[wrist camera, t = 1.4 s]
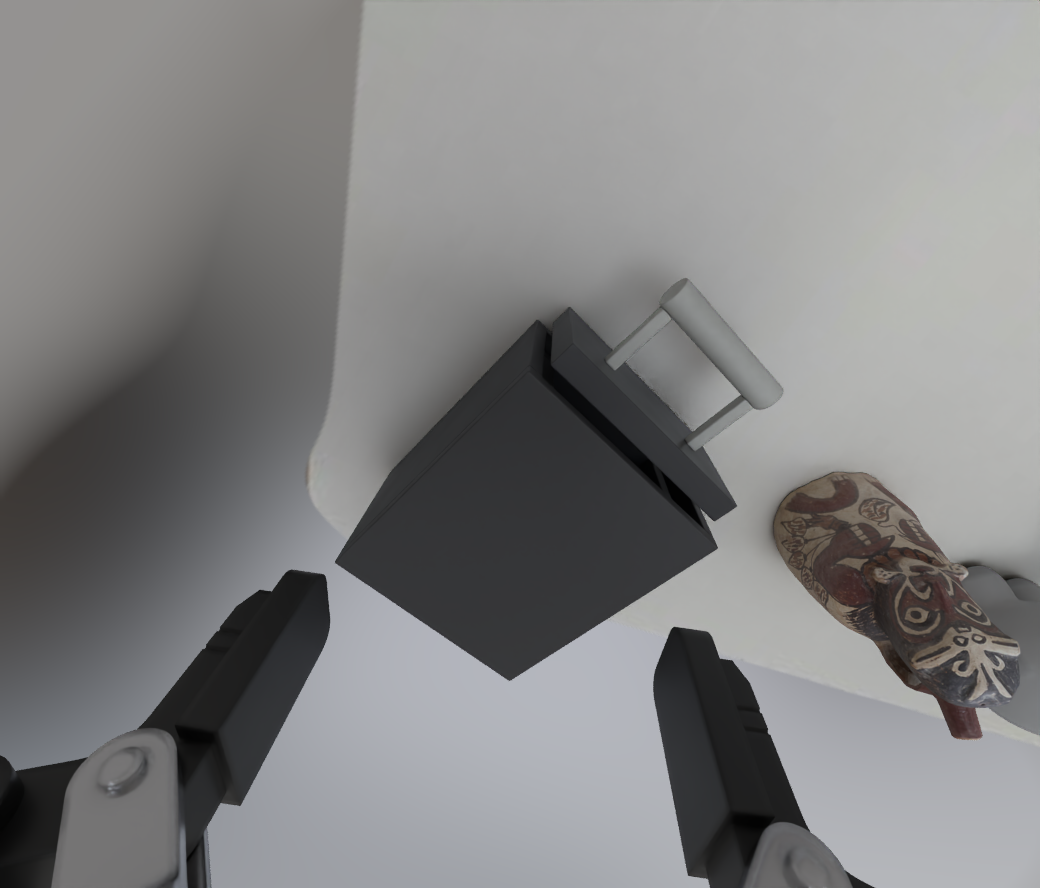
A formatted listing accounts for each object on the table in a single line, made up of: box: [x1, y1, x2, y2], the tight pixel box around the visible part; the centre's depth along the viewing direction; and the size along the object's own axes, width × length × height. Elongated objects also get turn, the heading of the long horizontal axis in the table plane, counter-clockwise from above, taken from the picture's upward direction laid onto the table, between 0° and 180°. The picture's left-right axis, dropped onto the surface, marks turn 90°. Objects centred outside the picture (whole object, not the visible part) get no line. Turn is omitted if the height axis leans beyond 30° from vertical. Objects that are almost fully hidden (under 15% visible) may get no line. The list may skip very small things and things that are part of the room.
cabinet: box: [335, 320, 718, 681], centre depth 25 cm, size 13×11×8 cm
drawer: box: [542, 278, 783, 521], centre depth 23 cm, size 17×10×7 cm, turn 137°
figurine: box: [774, 472, 1020, 740], centre depth 24 cm, size 7×7×12 cm
